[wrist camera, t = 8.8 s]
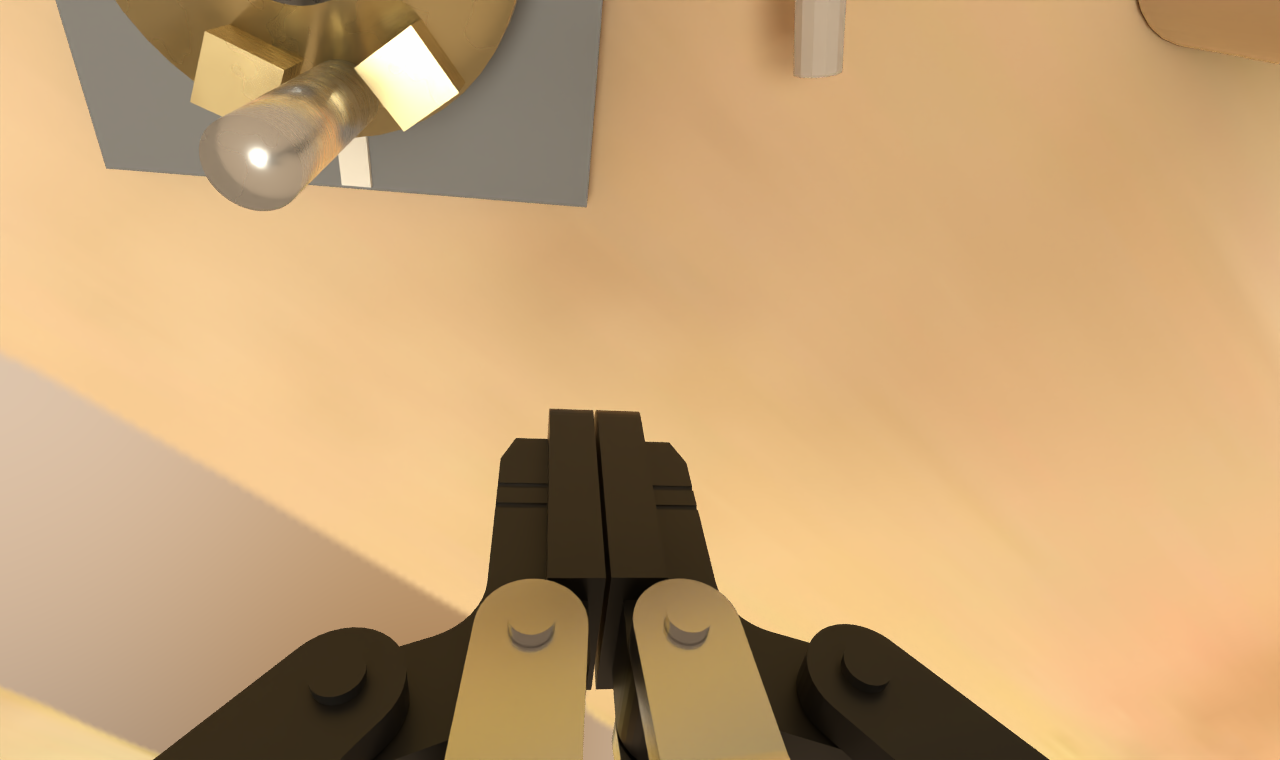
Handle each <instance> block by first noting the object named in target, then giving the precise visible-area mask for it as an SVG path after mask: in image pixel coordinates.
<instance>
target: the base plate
mask: <svg viewBox="0 0 1280 760" xmlns="http://www.w3.org/2000/svg"><path fill="white" fill-rule="evenodd" d="M56 4H57V7H58V10H59V14H60V17H61V20H62V23H63V27H64V30H65V33H66V37H67V40H68V43H69V47H70V50H71V53H72V57H73V60H74V63H75V66H76V70H77V73H78V76H79V80H80V83H81V86H82V90H83V93H84V96H85V100H86V103H87V106H88V109H89V113H90V116H91V119H92V123H93V126H94V129H95V133H96V136H97V139H98V143H99V146H100V149H101V152H102V156H103V159H104V162H105V166H106V168H108V169H120V170H132V171H145V172H157V173H169V174H182V175H194V176H206V175H205V173H204V171H203V168H202V166H201V163H200V158H199V143H200V139H201V136H202V134H203V132H204V131H205V129H206V128H207V127H208V126H209V125H210V124H211V123H212V122H214V121H216V120H217V119H219V118H221V117H222V116H220V115H217V114H215V113H213V112H211V111H209V110H206V109H204V108H202V107H200V106H198V105H196V104H193V103H191V102H190V100H191V95H192V90H193V85H194V81H193V80H191V79H190V78H189V77H188V76H186V75H185V74H184V73H183V72H182V71H180V70H179V69H178V68H177V67H175V66H174V65H173V64H172V63H170V62H169V61H168V60H167V59H166V58H165V57H164V56H163V55H162V54H161V53H160V52H159V51H158V50H157V49H156V48H155V47H154V46H153V45H152V44H151V43H150V42H149V41H148V40H147V39H146V38H145V37H144V36H143V34H142V33H141V32H140V31H139V30H138V29H137V27H136V26H135V25H134V24H133V23H132V21H131V20H130V19H129V18H128V17H127V16H126V14H125V13H124V12H123V11H122V9H121V8H120V6H119V5H118V4H117V2H116V1H115V0H56ZM602 4H603V0H517V3H516V6H515V9H514V12H513V15H512V18H511V21H510V23H509V25H508V27H507V29H506V31H505V33H504V35H503V37H502V39H501V42H500V43H499V45H498V47H497V49H496V51H495V53H494V54H493V56H492V57H491V59H490V60H489V62H488V63H487V65H486V66H485V68H484V69H483V71H482V72H481V74H480V75H479V76H478V77H477V78H476V79H475V81H474V82H473V83H472V84H471V85H470V86H469V87H468V88H467V89H466V91H465V92H464V93H463V94H461V95H460V96H459V97H458V98H456V99H455V100H454V101H453V102H452V103H450V104H449V105H448V106H447V107H446V108H444V109H442V110H441V111H439V112H437V113H436V114H434V115H432V116H431V117H429V118H427V119H426V120H424V121H421V122H419V123H416V124H414V125H413V126H411V127H410V128H409V129H407V130H406V131H403V130H398V131H394V132H390V133H386V134H382V135H376V136H366V137H357V138H354V139H353V140H352V141H351V142H350V143H349V144H348V145H347V146H346V147H345V148H344V149H343V150H342V151H341V152H340V153H339V154H338V155H337V156H336V157H335V158H334V159H333V160H332V161H331V162H330V163H329V164H328V165H327V166H326V167H325V168H324V169H323V170H322V171H321V172H320V173H319V174H318V175H317V176H316V177H315V178H314V179H313V180H312V181H311V182H310V183H309V184H308V185H317V186H330V187H342V188H354V189H367V190H379V191H391V192H404V193H416V194H428V195H441V196H453V197H465V198H478V199H490V200H502V201H515V202H527V203H539V204H552V205H564V206H576V207H587V198H588V185H589V172H590V159H591V146H592V133H593V120H594V107H595V94H596V81H597V68H598V55H599V43H600V30H601V17H602Z"/></svg>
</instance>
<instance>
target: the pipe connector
mask: <svg viewBox="0 0 1280 760" xmlns="http://www.w3.org/2000/svg"><path fill="white" fill-rule="evenodd" d="M845 13H846V0H795V22H794V73H793V74H794V76H796V77H800V78H819V77H828V76H833V75H837V74H839V73H841V72H842V66H843V48H844V30H845Z"/></svg>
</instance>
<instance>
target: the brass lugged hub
mask: <svg viewBox="0 0 1280 760" xmlns="http://www.w3.org/2000/svg"><path fill="white" fill-rule="evenodd" d="M115 1H116V2H117V4H118V5H119V6H120V8H121V9H122V11H123V12H124V13H125V14H126V16H127V17H128V18H129V19H130V20H131V21H132V23H133V24H134V25H135V26H136V27H137V29H138V30H139V31H140V32H141V33H142V34H143V36H144V37H145V38H146V39H147V40H148V41H149V42H150V43H151V44H152V45H153V46H154V47H155V48H156V49H157V50H158V51H159V52H160V53H161V54H162V55H163V56H164V57H165V58H166V59H167V60H168V61H169V62H170V63H172V64H173V65H174V66H175V67H177V68H178V69H179V70H180V71H182V72H183V73H184V74H185V75H186V76H188V77H189V78H190V79H191V80H193V81H194V85H193V90H192V95H191V100H190V102H191V103H193V104H196V105H198V106H200V107H202V108H204V109H206V110H209V111H211V112H213V113H215V114H217V115H220V116H222V117H221V118H219V119H217V120H216V121H214V122H212V123H211V124H210V125H209V126H208V127H207V128H206V129H205V131H204V132H203V134H202V136H201V139H200V143H199V158H200V163H201V166H202V168H203V171H204V173H205V175H206V177H207V178H208V180H209V181H210V183H211V184H212V185H213V186H214V187H215V189H216V190H217V191H218V192H219V193H221V194H222V195H223V196H224V197H226V198H227V199H228V200H230V201H232V202H233V203H235V204H237V205H239V206H242V207H244V208H247V209H251V210H257V211H271V210H276V209H279V208H282V207H284V206H286V205H287V204H289V203H290V202H291V201H292V200H293V199H294V198H295V197H296V196H297V195H298V194H299V193H300V192H301V191H302V190H303V189H304V188H305V187H306V186H307V185H308V184H309V183H310V182H311V181H312V180H313V179H314V178H315V177H316V176H317V175H318V174H319V173H320V172H321V171H322V170H323V169H324V168H325V167H326V166H327V165H328V164H329V163H330V162H331V161H332V160H333V159H334V158H335V157H336V156H337V155H338V154H339V153H340V152H341V151H342V150H343V149H344V148H345V147H346V146H347V145H348V144H349V143H350V142H351V141H352V140H353V139H354V138H357V137H366V136H376V135H382V134H386V133H390V132H394V131H398V130H403V131H406V130H407V129H409V128H410V127H411V126H413V125H414V124H416V123H419V122H421V121H424V120H426V119H427V118H429V117H431V116H432V115H434V114H436V113H437V112H439V111H441V110H442V109H444V108H446V107H447V106H448V105H449V104H450V103H452V102H453V101H454V100H455V99H456V98H458V97H459V96H460V95H461V94H463V93H464V92H465V91H466V89H467V88H468V87H469V86H470V85H471V84H472V83H473V82H474V81H475V79H476V78H477V77H478V76H479V75H480V74H481V72H482V71H483V69H484V68H485V66H486V65H487V63H488V62H489V60H490V59H491V57H492V56H493V54H494V53H495V51H496V49H497V47H498V45H499V43H500V42H501V39H502V37H503V35H504V33H505V31H506V29H507V27H508V25H509V23H510V21H511V18H512V15H513V12H514V9H515V6H516V3H517V0H115Z"/></svg>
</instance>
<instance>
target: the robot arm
mask: <svg viewBox="0 0 1280 760" xmlns="http://www.w3.org/2000/svg"><path fill="white" fill-rule="evenodd" d="M1139 5H1140V9H1141V12H1142V14H1143V15H1144V17H1145V19H1146V21H1147V23H1148V24H1149V26H1150V27H1151V28H1152V29H1153V30H1154V31H1155V32H1156V33H1157V34H1158V35H1159V36H1160V37H1161V38H1162V39H1165V40H1167V41H1169V42H1171V43H1174V44H1176V45H1178V46H1184V47H1189V48H1195V49H1201V50H1206V51H1212V52H1217V53H1223V54H1228V55H1234V56H1240V57H1245V58H1249V59H1254V60H1259V61H1264V62H1270V63H1276V64H1280V0H1139ZM696 506H697V505H696V501H695V497H694V493H693V491H692V484H691V480H690V476H689V472H688V468H687V464H686V462H685V461H684V460H683V459H682V457H681V456H680V455H679V454H678V453H677V451H676V450H675V449H674V448H673V447H672V445H671V444H670V443H667V442H645V439H644V434H643V428H642V422H641V417H640V413H639V412H629V411H602V410H596V412H595V416H594V414H593V410H570V409H549V424H548V439H527V438H516V439H515V440H514V442H513V443H512V444H511V446H510V447H509V448H508V450H507V451H506V452H505V454H504V455H503V456H502V457H501V461H500V470H499V479H498V489H497V498H496V508H495V516H494V526H493V535H492V544H491V554H490V563H489V572H488V581H487V587H486V591H485V593H484V596H483V598H482V600H481V602H480V603H479V605H478V607H477V608H476V609H475V610H474V611H473V612H472V614H471V615H470V616H468V617H467V618H466V619H465V620H464V621H463V622H461V623H460V624H458V625H457V626H455V627H454V628H452V629H450V630H448V631H446V632H444V633H441V634H439V635H436V636H433V637H430V638H426V639H423V640H420V641H416V642H413V643H410V644H406V645H403V646H400V647H399V646H398V645H397V644H396V642H394V641H393V640H392V639H391V638H390V637H388V636H387V635H385V634H383V633H381V632H378V631H376V630H373V629H367V628H355V627H352V628H343V629H339V630H334V631H330V632H327V633H325V634H322V635H319V636H317V637H315V638H313V639H311V640H310V641H308V642H306V643H305V644H303V645H302V646H300V647H299V648H298V649H296V650H295V651H294V652H292V653H291V654H290V655H288V656H287V657H286V658H285V659H283V660H282V661H281V662H279V663H278V664H277V665H275V666H274V667H273V668H272V669H270V670H269V671H268V672H266V673H265V674H264V675H263V676H261V677H260V678H259V679H257V680H256V681H255V682H254V683H252V684H251V685H250V686H248V687H247V688H246V689H244V690H243V691H242V692H241V693H239V694H238V695H237V696H235V697H234V698H233V699H232V700H230V701H229V702H227V703H226V704H225V705H224V706H222V707H221V708H220V709H219V710H217V711H216V712H215V713H213V714H212V715H211V716H209V717H208V718H207V719H205V720H204V721H203V722H202V723H200V724H199V725H198V726H196V727H195V728H194V729H192V730H191V731H190V732H189V733H187V734H186V735H185V736H183V737H182V738H181V739H179V740H178V741H177V742H176V743H174V744H173V745H172V746H170V747H169V748H168V749H167V750H165V751H164V752H163V753H161V754H160V755H159V756H157V757H156V758H155V759H154V760H583V739H584V717H585V696H586V690H591V687H592V680H593V672H594V665H595V682H596V689H613V690H614V704H615V723H614V729H613V735H612V749H613V755H614V760H1049V759H1048V758H1046V757H1045V756H1044V755H1042V754H1041V753H1040V752H1038V751H1037V750H1036V749H1034V748H1033V747H1032V746H1030V745H1029V744H1028V743H1026V742H1025V741H1024V740H1022V739H1021V738H1020V737H1018V736H1017V735H1016V734H1014V733H1013V732H1012V731H1010V730H1009V729H1008V728H1006V727H1005V726H1004V725H1002V724H1001V723H1000V722H998V721H997V720H996V719H994V718H993V717H992V716H990V715H989V714H988V713H986V712H985V711H984V710H982V709H981V708H980V707H978V706H977V705H976V704H974V703H973V702H972V701H970V700H969V699H968V698H966V697H965V696H964V695H962V694H961V693H960V692H958V691H957V690H956V689H954V688H953V687H952V686H950V685H949V684H948V683H946V682H945V681H944V680H942V679H941V678H940V677H938V676H937V675H936V674H934V673H933V672H932V671H930V670H929V669H928V668H926V667H925V666H924V665H922V664H921V663H920V662H918V661H917V660H916V659H914V658H913V657H912V656H910V655H909V654H908V653H906V652H905V651H904V650H902V649H901V648H900V647H898V646H897V645H896V644H894V643H893V642H892V641H890V640H889V639H887V638H886V637H884V636H883V635H881V634H879V633H877V632H875V631H873V630H870V629H868V628H865V627H861V626H857V625H850V624H838V625H833V626H829V627H827V628H825V629H822V630H821V631H820V632H818V633H817V634H816V635H815V636H814V637H813V639H812V640H811V642H810V643H808V642H805V641H801V640H798V639H794V638H791V637H787V636H784V635H780V634H776V633H773V632H770V631H767V630H764V629H761V628H759V627H757V626H755V625H753V624H751V623H749V622H748V621H746V620H744V619H743V618H741V617H740V616H739V615H738V614H737V611H736V609H735V608H734V607H733V605H732V604H731V602H730V601H729V600H728V599H727V598H726V597H725V596H724V595H723V594H721V593H720V592H719V590H718V588H717V585H716V582H715V578H714V574H713V570H712V566H711V562H710V558H709V554H708V550H707V546H706V541H705V537H704V533H703V529H702V525H701V521H700V517H699V513H698V510H697V509H696Z"/></svg>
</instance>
